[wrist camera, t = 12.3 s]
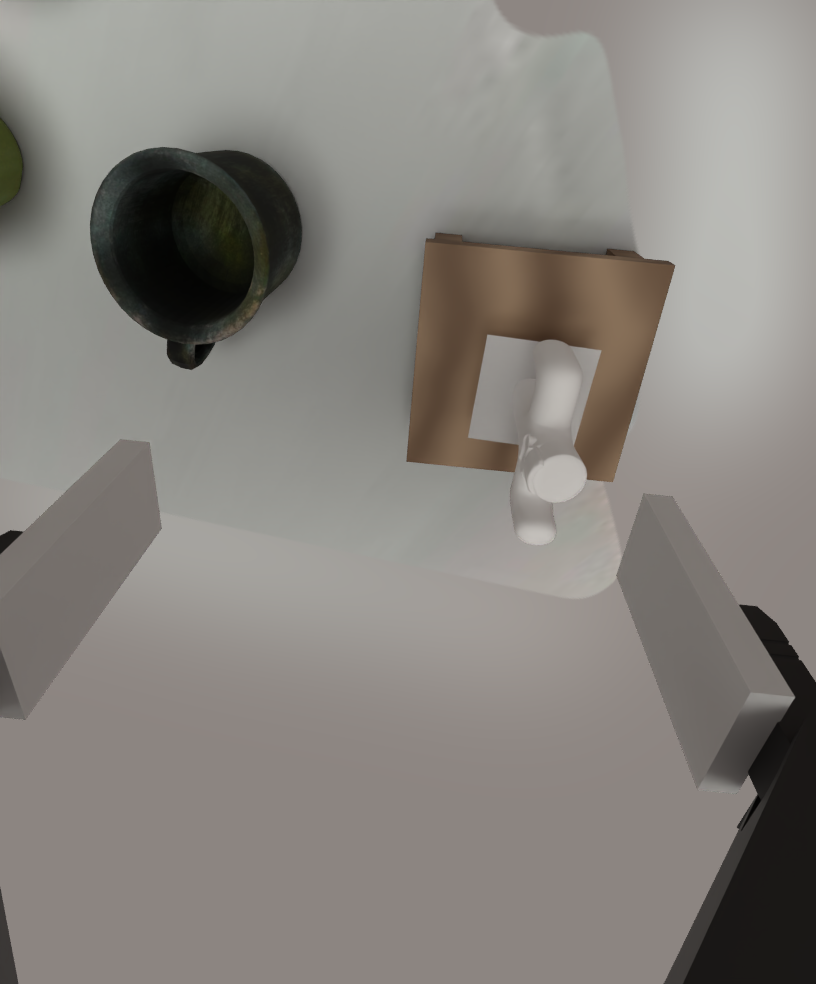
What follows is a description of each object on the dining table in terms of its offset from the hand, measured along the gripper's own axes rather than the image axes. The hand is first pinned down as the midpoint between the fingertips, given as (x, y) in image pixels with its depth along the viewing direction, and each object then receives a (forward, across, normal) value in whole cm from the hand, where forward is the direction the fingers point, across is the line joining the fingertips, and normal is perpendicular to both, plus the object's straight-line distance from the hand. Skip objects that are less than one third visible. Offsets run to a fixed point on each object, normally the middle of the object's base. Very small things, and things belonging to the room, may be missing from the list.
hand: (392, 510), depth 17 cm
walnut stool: (+36, +8, -5) cm, 37 cm away
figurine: (+28, +8, -6) cm, 30 cm away
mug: (+36, -15, -1) cm, 40 cm away
